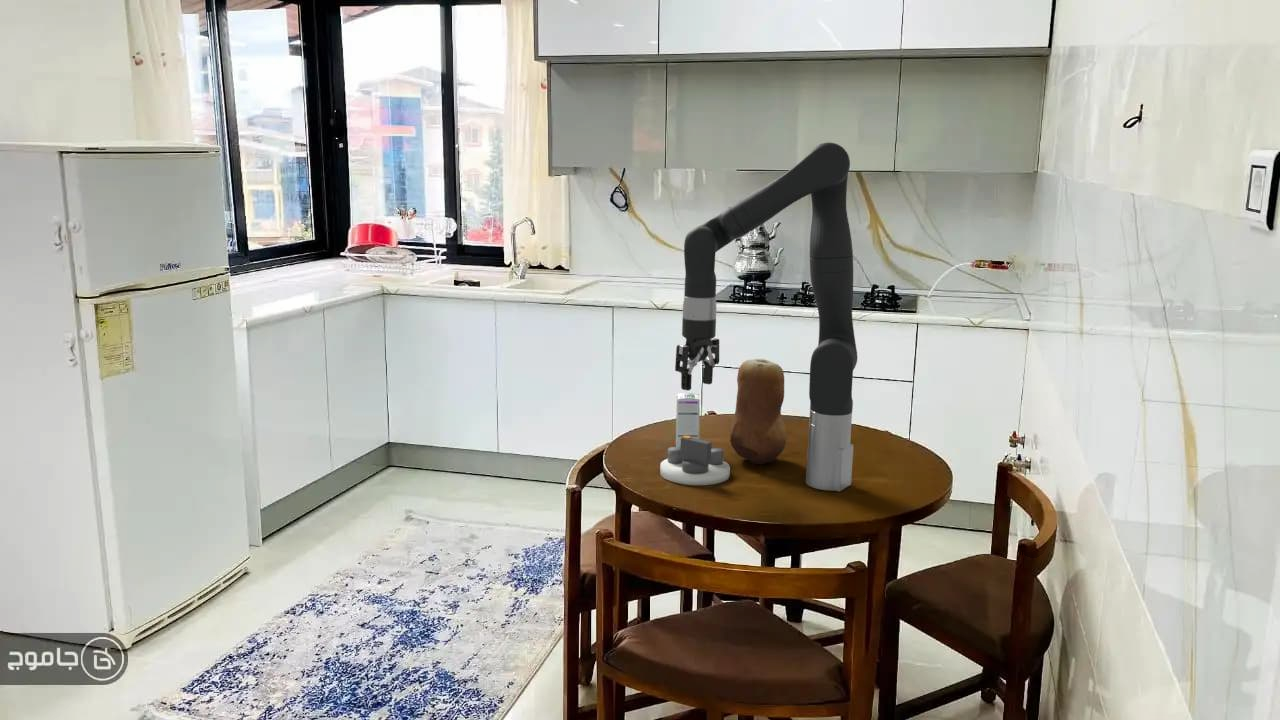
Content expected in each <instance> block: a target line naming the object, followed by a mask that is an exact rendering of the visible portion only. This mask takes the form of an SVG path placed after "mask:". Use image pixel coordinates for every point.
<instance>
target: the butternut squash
mask: <svg viewBox="0 0 1280 720" xmlns="http://www.w3.org/2000/svg"><path fill="white" fill-rule="evenodd" d="M736 377H737V378H736V383H737V391H736V392H737V393H736V403H735V412H734V415H733V418H732V421H731V423H730V427H729V442H730V444H731V447H732V449H733V451H734V452H735V453H736V454H737V456H739V457H741V458H743V459H746V460H747V461H749V462H751V463H752V464H757V465H758V464H759V465H764V464H766V463H771V462H773V461H775V460H777V458H778V457H779V456H780V455H781V454H782V453H783V452H784V449H785V447H786V444H787V432H786V431H787V429H786V426H785V422H784V420H783V417H782V405H783V403H784V400H785V399H784V398H785V374H784V369H783V368H782V367H781V365H779V364H778V363H776V362H772V361H770V360H767V359H764V358H755V359H754V358H753V359H747V360H744V361H743V362H742V363H741V365H740V366H739V368H738V371H737V376H736Z"/></svg>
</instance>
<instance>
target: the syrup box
mask: <svg viewBox="0 0 1280 720" xmlns="http://www.w3.org/2000/svg"><path fill="white" fill-rule="evenodd" d="M675 402H676V405H675V407H676V409H675V410H676V411H675V412H676V414H675V415H676V417H675V447H680V448H681V438H683V436H690V437H691V438H696V439H700V427H701V426H700V421H701V420H700V418H701V417H700V416H701V415H700V413H701V411H700V394H699V393H691V392H688V393H687V392H686V393H685V392H683V393H677V394H676V401H675Z"/></svg>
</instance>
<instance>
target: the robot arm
mask: <svg viewBox="0 0 1280 720" xmlns="http://www.w3.org/2000/svg"><path fill="white" fill-rule="evenodd" d="M850 163H851V161H850V155H849V154H848V152H847V151H846V149H845V148H844V147H843V146H841V145H840V144H837V143H834V142H829V141H828V142H823V143H820V144H818V145H816V146H814V147H812V149H811V150H810V151H809V153H808V154H806V156H805V157H803V158H802V159H801V160H800V162H798V163H796V164H795V165H794V167H792V168H791V169H789V170H788V171H786V172H785V173H784V174H782V175H781V176H779V177H778V178H776V179H774V180H773V181H771V182H769V183H767V184H765V185H764V186H762V187H760V188H758V189H757V190H755V191H753V192H751V193H749V194H748V195H746V196H744V197H743V198H741V199H740V200H738V201H736V202H734V203H733V204H731V205H730V206H729V207H726V209H724V210H723V211H721V212H720V214H718V215H716V216H714V217H712V218H710V219H709V220H707V221H705V222H704V223H702V224H700V225H699V226H696V227H695V228H693V229H691V230H689V232H688V233H687V234H686V236H685V239H684V243H683V248H684V249H683V255H684V269H685V275H684V276H685V277H684V293H683V294H684V297H683V304H682V324H681V325H682V327H681V336H682V337H683V338H685V340H686V341H685V344H684V345H682V344H677V345H676V350H675V351H676V352H675V365H674V369H675V370H674V371H675V372H677V373H680V376H681V377H680V378H681V379H680V380H681V381H680V383H681V384H680V387H681V389H682V390H683V391H686V392H687V391H690V390H692V377H693V376H692V373H693V370H694V368H695V367H697V365H698V363H700V362H701V363H702V365H703V367H702V383H703V384H704V385H711V384H713V377H714V376H713V373H714V371H713V370H714V368H715V366H716V365H719V363H720V339H719V338H715V337H716V330H717V329H716V326H717V300H716V299H717V297H716V296H717V295H716V293H717V276H716V273H715V267H716V253H717V252H718V251H720V250H721V249H723V248H724V247H726V246H727V245H729V244H731V242H733V241H735V240H737V239H740V238H742V237H744V236H745V235H747V234H749V233H750V232H752V231H754V230H756V229H757V228H758V227H761V225H763V224H765V223H766V222H768V221H769V220H771V219H772V218H774V217H775V216H776V215H778V214H779V213H781V212H782V211H783V210H785V209H786V208H788V207H789V206H791V205H792V204H794V203H796V202H797V201H799V200H801V199H803V198H806V196H808V195H810V196H811V198H810V199H811V206H812V207H811V211H812V212H811V213H812V215H811V225H810V235H809V236H810V237H809V276H810V283H811V287H812V292H813V296H814V300H815V303H816V308H817V311H818V321H819V322H818V328H819V329H818V330H819V331H818V344H817V346H816V348H814V350H813V352H812V355H811V358H810V362H809V363H810V367H809V383H808V384H809V386H808V388H809V390H808V393H809V394H808V395H809V396H808V397H809V400H810V404H809V420H808V421H809V422H808V423H809V424H808V425H809V426H808V441H807V457H806V473H805V475H806V476H805V483H806V485H807V486H809V488H810V487H811V488H813V489H816V490H821V491H836V492H841V491H843V490H844V489H846V488H848V487H850V486H851V484H852V475H853V462H854V461H853V460H854V444H852V443H851V434H852V421H853V418H852V417H853V409H854V402H853V395H852V394H853V393H852V391H853V376H854V370H855V368H856V367H857V363H858V350H857V345H856V338H855V330H854V320H853V302H854V301H853V300H854V254H853V252H854V251H853V250H854V249H853V242H852V235H851V234H852V233H851V229H850V223H849V217H848V209H847V191H848V175H849V171H850V168H851V167H850V166H851V164H850ZM681 362H682V364H681Z"/></svg>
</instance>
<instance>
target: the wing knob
mask: <svg viewBox="0 0 1280 720" xmlns="http://www.w3.org/2000/svg"><path fill="white" fill-rule="evenodd" d="M711 448H712V441H708V440H704V439H700V438H699V439H696V438H691V437H690V436H683V438H681V450H680V459H681V460H682V470H683V471H684V472H686V473H691V474H702V473H706V472H708V467H709V464H710V463H711Z"/></svg>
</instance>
